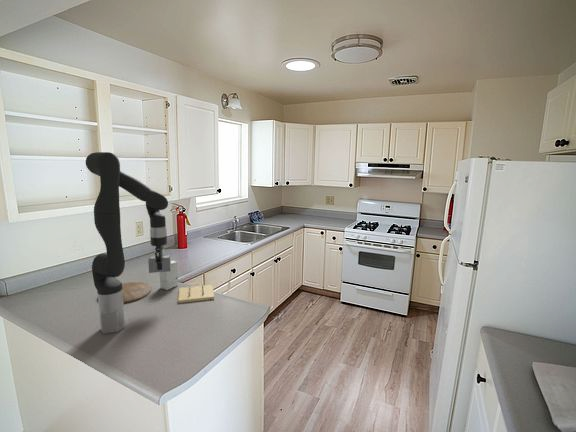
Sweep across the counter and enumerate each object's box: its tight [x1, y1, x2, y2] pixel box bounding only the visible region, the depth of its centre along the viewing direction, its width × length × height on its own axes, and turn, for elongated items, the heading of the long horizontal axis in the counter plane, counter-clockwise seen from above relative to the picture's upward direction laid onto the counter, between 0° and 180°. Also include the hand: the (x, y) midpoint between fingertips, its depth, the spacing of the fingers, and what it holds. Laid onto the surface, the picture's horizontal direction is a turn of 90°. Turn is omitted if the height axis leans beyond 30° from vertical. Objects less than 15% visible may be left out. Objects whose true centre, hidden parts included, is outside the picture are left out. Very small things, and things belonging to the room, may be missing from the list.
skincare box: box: [159, 260, 179, 291], centre depth 174 cm, size 8×6×15 cm
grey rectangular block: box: [147, 255, 172, 274], centre depth 152 cm, size 4×10×7 cm, turn 107°
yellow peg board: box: [177, 284, 215, 304], centre depth 165 cm, size 16×18×4 cm
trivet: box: [122, 281, 152, 305], centre depth 165 cm, size 25×25×2 cm
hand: (160, 268), depth 152 cm, fingers closed on grey rectangular block, 4 cm apart
